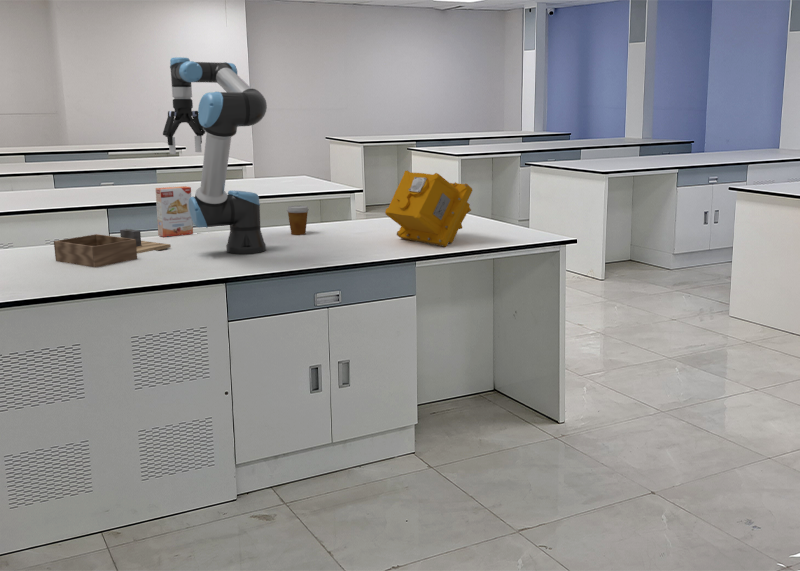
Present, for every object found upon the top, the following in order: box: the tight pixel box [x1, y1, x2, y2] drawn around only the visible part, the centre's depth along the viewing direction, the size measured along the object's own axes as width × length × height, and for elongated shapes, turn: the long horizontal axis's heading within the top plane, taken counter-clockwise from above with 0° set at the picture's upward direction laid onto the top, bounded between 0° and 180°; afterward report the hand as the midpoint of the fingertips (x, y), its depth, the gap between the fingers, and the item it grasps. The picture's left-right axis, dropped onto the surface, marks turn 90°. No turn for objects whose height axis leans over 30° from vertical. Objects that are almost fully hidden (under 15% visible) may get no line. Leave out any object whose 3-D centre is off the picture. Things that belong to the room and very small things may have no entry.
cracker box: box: [155, 185, 194, 238], centre depth 338 cm, size 14×6×21 cm, turn 130°
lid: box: [119, 228, 171, 255], centre depth 305 cm, size 23×19×8 cm
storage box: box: [53, 233, 138, 268], centre depth 281 cm, size 22×18×8 cm
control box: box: [384, 170, 473, 248], centre depth 319 cm, size 27×27×30 cm
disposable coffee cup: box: [286, 205, 309, 236], centre depth 341 cm, size 10×10×12 cm
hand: (185, 153), depth 311 cm, fingers open, 13 cm apart
